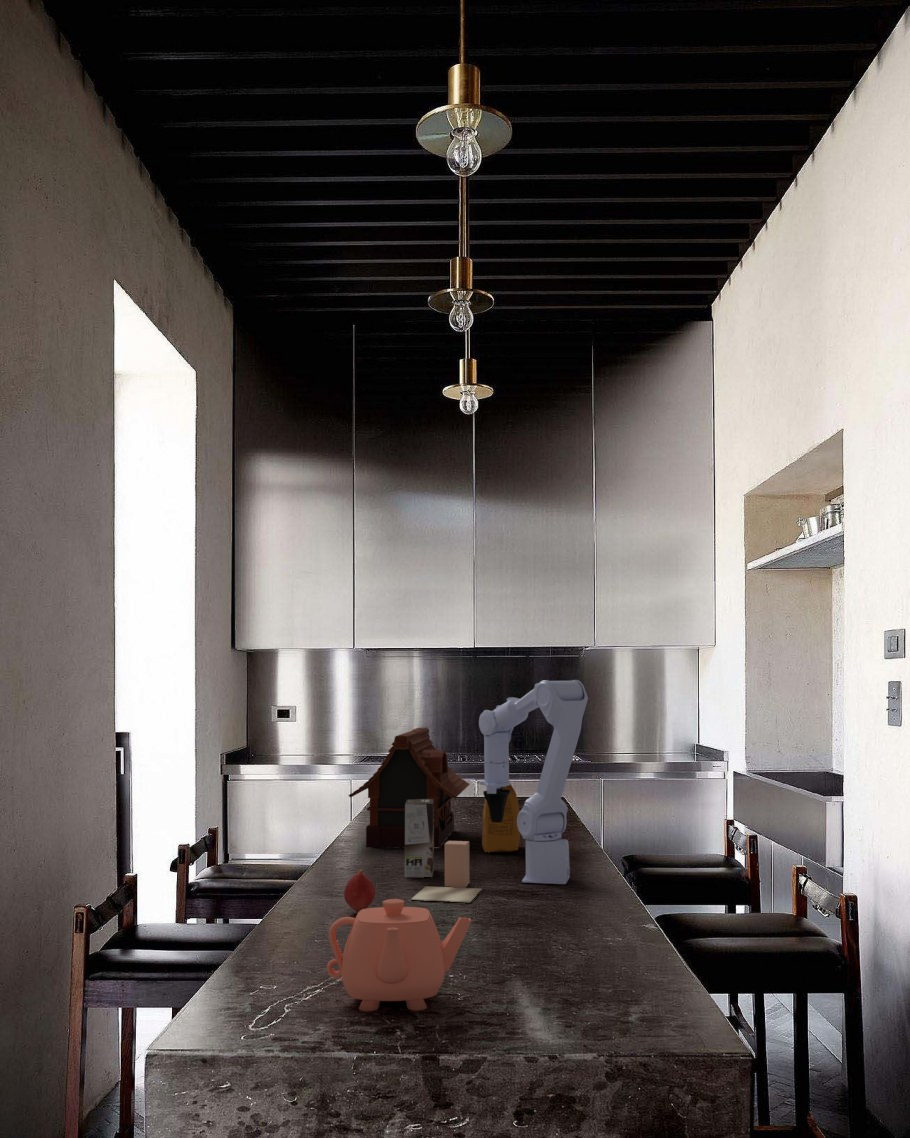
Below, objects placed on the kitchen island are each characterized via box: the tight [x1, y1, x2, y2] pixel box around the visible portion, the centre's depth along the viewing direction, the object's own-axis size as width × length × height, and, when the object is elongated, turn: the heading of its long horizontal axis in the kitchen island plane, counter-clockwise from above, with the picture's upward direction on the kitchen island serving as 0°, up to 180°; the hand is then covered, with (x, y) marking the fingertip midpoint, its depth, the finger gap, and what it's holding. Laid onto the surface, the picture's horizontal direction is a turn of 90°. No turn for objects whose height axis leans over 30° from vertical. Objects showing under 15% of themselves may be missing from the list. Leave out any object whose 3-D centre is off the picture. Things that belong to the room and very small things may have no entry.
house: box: [348, 727, 471, 848], centre depth 277 cm, size 35×28×29 cm
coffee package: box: [481, 783, 521, 854], centre depth 258 cm, size 10×12×22 cm
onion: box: [343, 869, 376, 914], centre depth 192 cm, size 6×6×8 cm
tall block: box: [444, 840, 470, 887], centre depth 215 cm, size 4×4×9 cm
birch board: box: [410, 885, 483, 902], centre depth 205 cm, size 12×12×1 cm
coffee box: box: [404, 799, 435, 878], centre depth 229 cm, size 9×6×16 cm
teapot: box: [326, 898, 472, 1012], centre depth 141 cm, size 16×17×14 cm
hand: (497, 821), depth 235 cm, fingers closed
